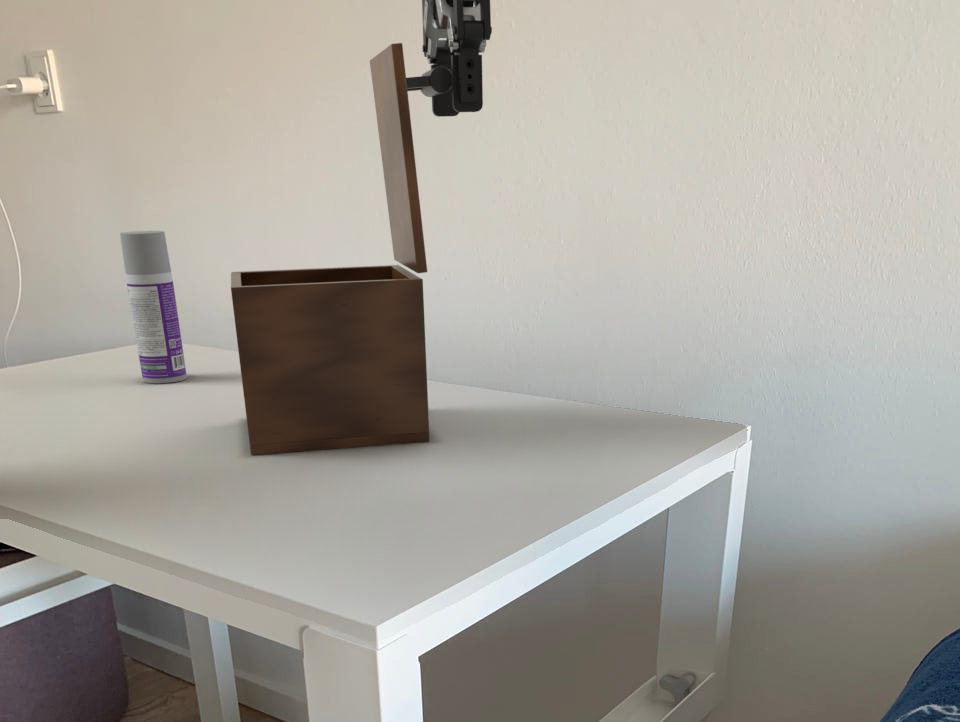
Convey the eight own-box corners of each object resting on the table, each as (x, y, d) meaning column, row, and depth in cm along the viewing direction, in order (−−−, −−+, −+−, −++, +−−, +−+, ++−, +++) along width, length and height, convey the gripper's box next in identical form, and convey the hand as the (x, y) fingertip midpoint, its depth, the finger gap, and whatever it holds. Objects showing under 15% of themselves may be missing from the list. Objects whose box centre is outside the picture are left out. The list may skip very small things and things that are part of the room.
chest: (251, 455, 81) (230, 287, 75) (248, 420, 92) (230, 271, 86) (429, 441, 83) (422, 279, 78) (406, 409, 94) (398, 264, 89)
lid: (391, 43, 71) (460, 37, 71) (369, 60, 82) (429, 54, 83) (417, 273, 78) (480, 265, 78) (394, 259, 89) (449, 253, 89)
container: (175, 373, 113) (154, 230, 107) (194, 379, 110) (173, 231, 103) (135, 379, 110) (111, 232, 104) (153, 385, 107) (129, 234, 101)
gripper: (384, -117, 78) (396, 118, 85) (414, -171, 65) (425, 110, 72) (478, -114, 79) (482, 117, 86) (525, -167, 67) (525, 109, 74)
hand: (456, 114), depth 79 cm, fingers open, 8 cm apart
